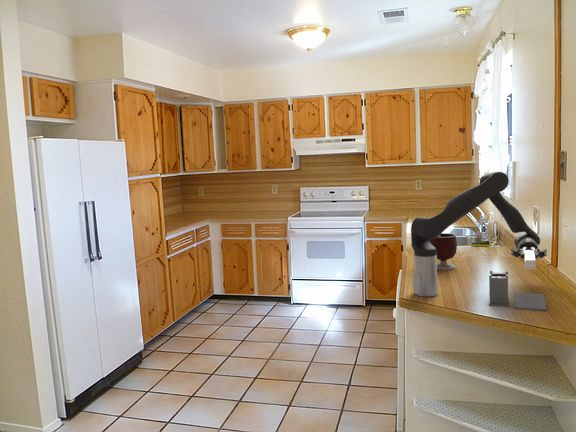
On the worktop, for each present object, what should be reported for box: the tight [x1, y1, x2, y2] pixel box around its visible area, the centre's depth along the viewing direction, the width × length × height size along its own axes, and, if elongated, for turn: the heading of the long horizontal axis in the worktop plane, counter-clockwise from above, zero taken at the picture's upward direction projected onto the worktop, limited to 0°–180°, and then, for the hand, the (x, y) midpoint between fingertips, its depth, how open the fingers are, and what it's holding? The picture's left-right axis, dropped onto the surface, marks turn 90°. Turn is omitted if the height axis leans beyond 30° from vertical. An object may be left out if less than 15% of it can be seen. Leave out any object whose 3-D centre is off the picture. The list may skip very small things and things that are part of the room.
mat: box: [513, 292, 548, 311], centre depth 195 cm, size 21×11×1 cm, turn 156°
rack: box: [488, 269, 510, 308], centre depth 196 cm, size 11×7×12 cm, turn 156°
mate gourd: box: [430, 232, 458, 271], centre depth 260 cm, size 16×14×20 cm
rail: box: [523, 250, 537, 270], centre depth 193 cm, size 18×4×4 cm, turn 156°
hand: (529, 256), depth 196 cm, fingers closed on rail, 3 cm apart
